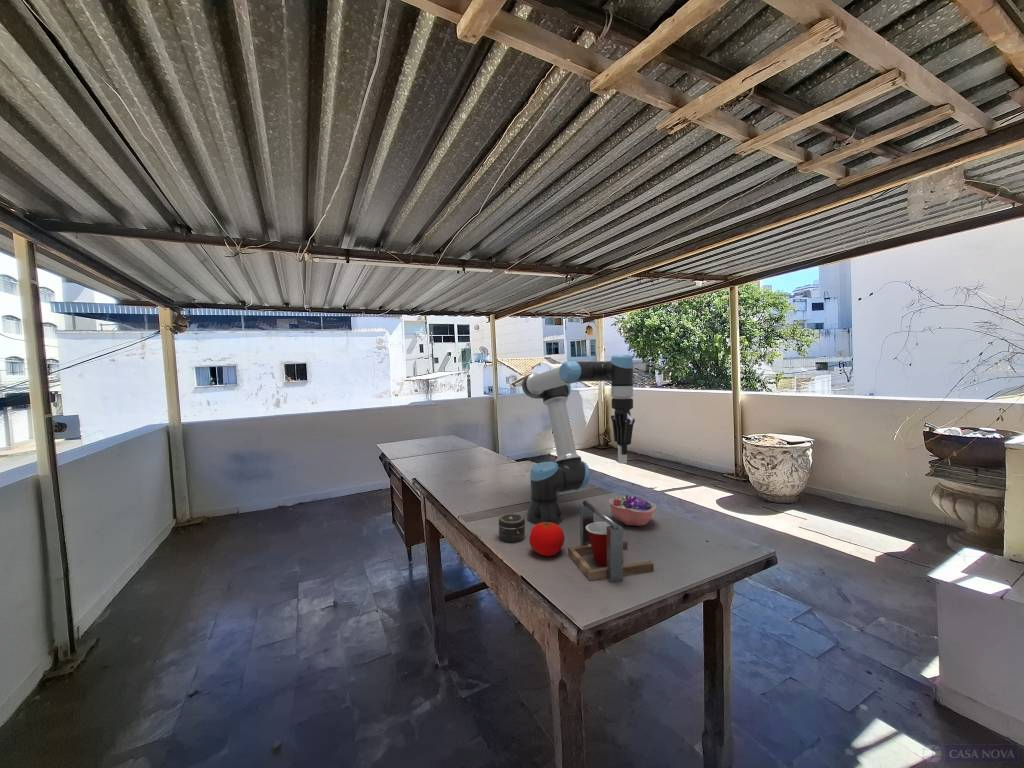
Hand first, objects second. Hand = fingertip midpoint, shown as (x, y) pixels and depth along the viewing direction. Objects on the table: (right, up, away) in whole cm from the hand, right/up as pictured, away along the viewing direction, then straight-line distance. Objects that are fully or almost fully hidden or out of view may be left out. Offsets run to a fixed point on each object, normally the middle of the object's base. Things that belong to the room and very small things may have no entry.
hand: (622, 462), depth 140 cm
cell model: (+9, -29, +19) cm, 36 cm away
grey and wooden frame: (-8, -30, -14) cm, 34 cm away
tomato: (-28, -30, -6) cm, 41 cm away
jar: (-40, -30, +7) cm, 51 cm away
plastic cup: (-10, -30, -13) cm, 34 cm away
